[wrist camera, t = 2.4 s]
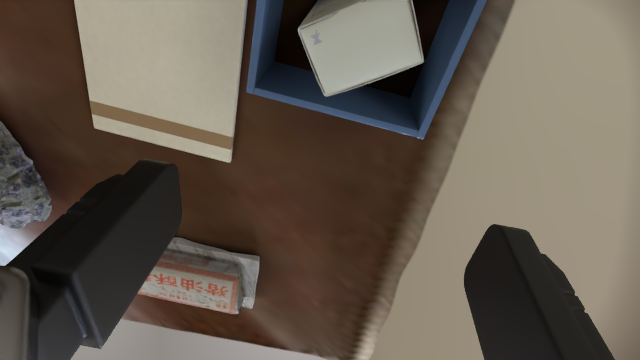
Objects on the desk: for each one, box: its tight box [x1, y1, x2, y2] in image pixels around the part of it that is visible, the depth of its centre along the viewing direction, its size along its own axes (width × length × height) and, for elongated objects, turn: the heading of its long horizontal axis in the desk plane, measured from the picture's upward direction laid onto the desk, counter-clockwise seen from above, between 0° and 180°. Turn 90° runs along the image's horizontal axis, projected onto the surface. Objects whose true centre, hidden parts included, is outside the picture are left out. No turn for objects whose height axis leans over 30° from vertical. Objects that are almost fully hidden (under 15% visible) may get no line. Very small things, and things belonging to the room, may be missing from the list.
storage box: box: [246, 0, 487, 139], centre depth 26 cm, size 14×13×7 cm
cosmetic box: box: [298, 0, 424, 97], centre depth 24 cm, size 6×4×12 cm
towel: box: [74, 0, 248, 163], centre depth 32 cm, size 15×22×1 cm
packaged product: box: [137, 237, 260, 314], centre depth 48 cm, size 18×5×10 cm
